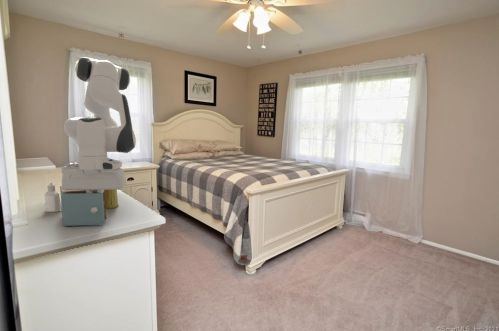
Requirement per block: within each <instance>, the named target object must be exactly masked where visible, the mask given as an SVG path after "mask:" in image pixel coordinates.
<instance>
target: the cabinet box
mask: <svg viewBox="0 0 499 331" xmlns="http://www.w3.org/2000/svg"><path fill="white" fill-rule="evenodd" d="M59 188H60V195H61V194H71V193H86V190H64V189H63V188H62V185H60V186H59ZM92 193H98V192H97V190H93V191H92ZM103 203H104V220H106V219H107V209H106V206H105V190H104V192H103ZM60 206H62V202H61V201H60ZM61 214H62V213H61ZM61 217H62V218H63V214H62V216H61Z"/></svg>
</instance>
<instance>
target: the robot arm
mask: <svg viewBox="0 0 499 331" xmlns="http://www.w3.org/2000/svg"><path fill="white" fill-rule="evenodd" d="M74 72H75V75H76V77H77V78H78V79H79V80H81V81H82V82H85V83H86V82H87V86H86V91H85V97H84V106H85V109H86V110H87V111H88V112H90V113H92V114H93V116H77V117H71V118H68V119H66V120H65V122H64V123H63V124H64V125H63V131H64V133H65V135H66V136H68V138H70V139H72V140H73V141H74V142H75V143H76V144H77V146H78V153H77V159H78V163H77V162H74V163H71V162H68V163H65V164H63V165H62V167H61V175H62V177H61V186H62V188H63V189H64V190H86V193H92V191H93V190H97V192H98V193H103V192H104V190H117V191H118V190H119V191H120V190H123V189H124V188H125V187H126V185H127V182H126V180H127V179H126V174H125V171H124V170H123V168H122V166H123V162H122V161H120V160H116V159H113V158H110V157H108V153H120V154H121V153H123V154H128V153H130V152H131V151H132V150H134V149H135V147H136V144H137V141H136V135H135V131H134V130H133V124H132V118H131V113H130V107H129V103H128V99H127V96H126V95H125V94H124V93H122V92H121V91H125V90H126V89H127V88H128V87H129V85H130V83H131V76H130V75H131V74H130V72H129V70H127V68H124V67H120V66H118V65H115V64H114V63H112V62H111V61H109V60H103V59H102V60H98V59H94V58H91V57H88V56H87V57H86V56H85V57H84V56H82V57H80V58H78V60H77V61H76V63H75V65H74ZM110 109H112V110H115V111H116V112H118V113H119V120H120V125H118V123H117V122H116V121H115V120H114V119H113V118H112V116H111V112H110Z"/></svg>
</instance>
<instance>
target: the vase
mask: <svg viewBox="0 0 499 331" xmlns="http://www.w3.org/2000/svg"><path fill="white" fill-rule="evenodd" d="M105 206H106V210H107V209H108V210H109V209H115V208H117V207H119V202H118V190H105Z"/></svg>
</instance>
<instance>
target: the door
mask: <svg viewBox="0 0 499 331" xmlns="http://www.w3.org/2000/svg"><path fill="white" fill-rule="evenodd" d="M61 202H62V205H61V214H63V217H62V221H63V222H62V224H63V227H68V226H96V225H97V226H99V225H101V226H103V225H105V219H104V203H103V193H71V194H61V193H60V203H61Z"/></svg>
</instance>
